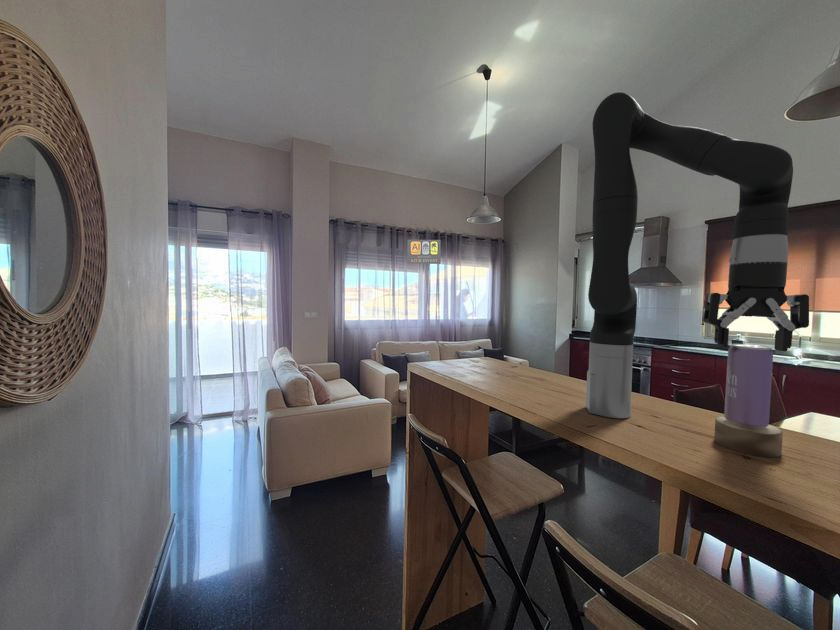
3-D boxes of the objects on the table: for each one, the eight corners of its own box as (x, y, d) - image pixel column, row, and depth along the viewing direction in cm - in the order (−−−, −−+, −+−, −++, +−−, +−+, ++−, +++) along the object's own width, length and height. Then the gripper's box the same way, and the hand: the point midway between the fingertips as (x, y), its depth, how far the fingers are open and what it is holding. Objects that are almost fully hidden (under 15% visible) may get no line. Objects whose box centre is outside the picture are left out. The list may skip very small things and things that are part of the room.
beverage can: (778, 431, 58) (783, 348, 58) (738, 428, 60) (743, 347, 59) (751, 420, 64) (756, 344, 64) (716, 417, 65) (720, 343, 65)
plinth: (729, 452, 59) (730, 429, 59) (705, 434, 68) (706, 414, 68) (795, 461, 56) (796, 437, 56) (761, 441, 65) (762, 420, 64)
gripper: (719, 260, 60) (713, 348, 60) (826, 259, 55) (818, 355, 55) (700, 265, 67) (695, 343, 67) (793, 264, 62) (786, 349, 62)
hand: (751, 348), depth 61 cm, fingers open, 8 cm apart
